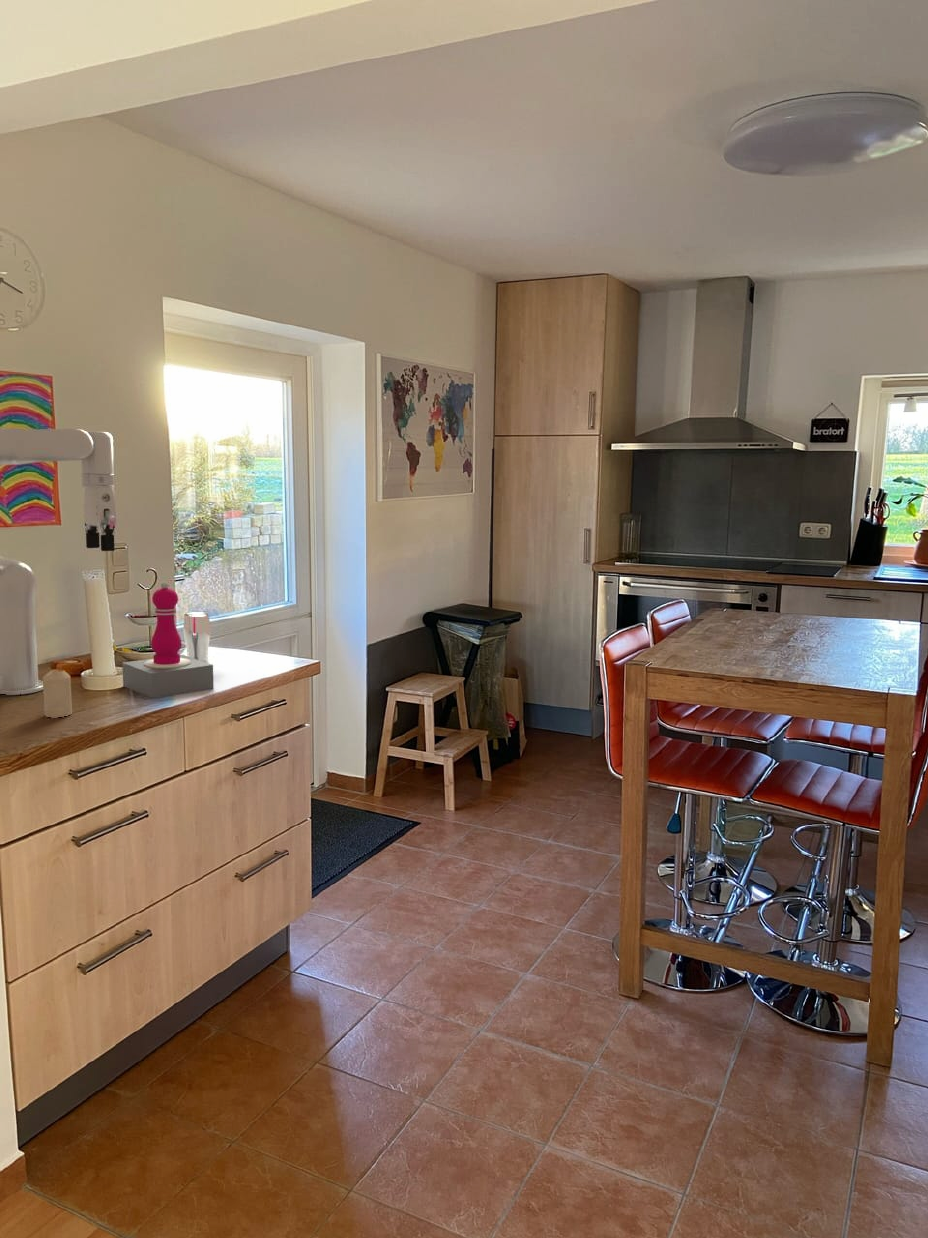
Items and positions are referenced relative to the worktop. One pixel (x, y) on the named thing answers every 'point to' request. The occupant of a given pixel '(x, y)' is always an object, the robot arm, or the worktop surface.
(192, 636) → the beer glass
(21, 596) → the robot arm
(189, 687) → the riser
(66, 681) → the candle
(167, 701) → the worktop surface
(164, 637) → the pepper mill
